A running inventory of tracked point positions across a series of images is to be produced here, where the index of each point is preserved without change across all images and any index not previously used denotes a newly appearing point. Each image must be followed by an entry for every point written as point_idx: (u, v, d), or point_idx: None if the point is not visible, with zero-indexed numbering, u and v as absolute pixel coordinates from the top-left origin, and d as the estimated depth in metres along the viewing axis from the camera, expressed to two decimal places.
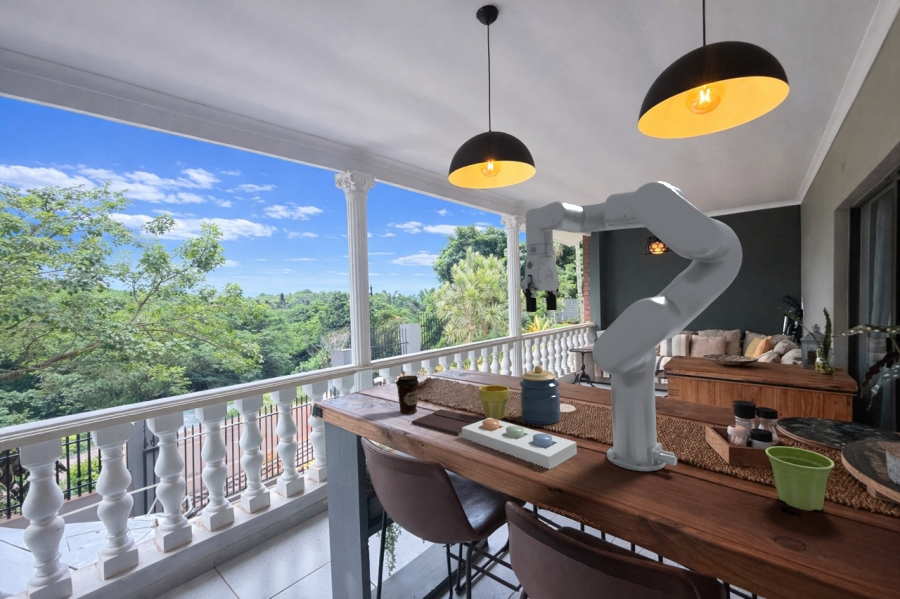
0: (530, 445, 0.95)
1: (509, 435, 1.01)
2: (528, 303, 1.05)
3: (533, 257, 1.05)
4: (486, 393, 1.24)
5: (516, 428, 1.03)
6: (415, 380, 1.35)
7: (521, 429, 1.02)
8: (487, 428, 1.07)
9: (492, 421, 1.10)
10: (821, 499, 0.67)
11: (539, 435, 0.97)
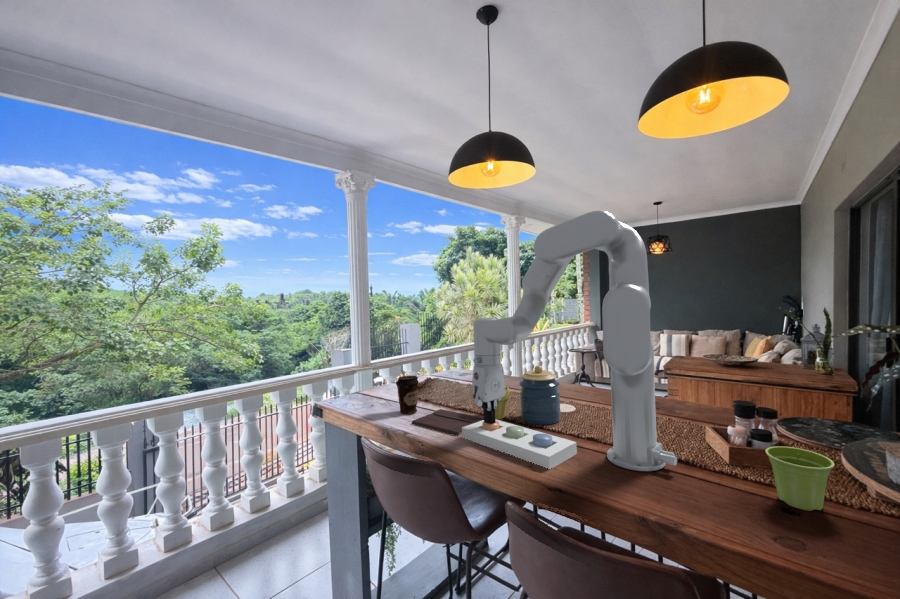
0: (530, 445, 0.95)
1: (509, 435, 1.01)
2: (485, 415, 1.09)
3: (479, 369, 1.06)
4: None
5: (516, 428, 1.03)
6: (415, 380, 1.35)
7: (521, 429, 1.02)
8: (487, 429, 1.07)
9: None
10: (821, 499, 0.67)
11: (539, 435, 0.97)
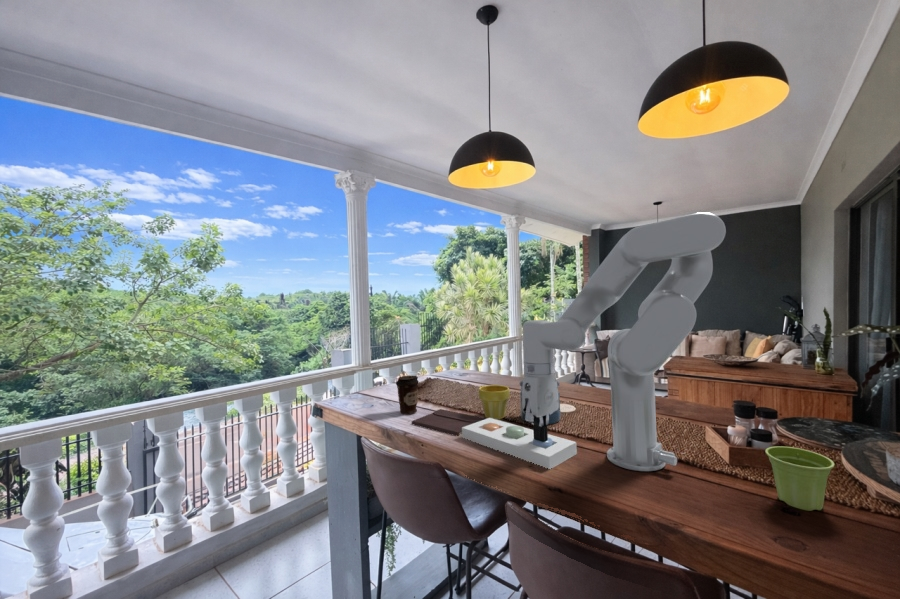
0: (530, 445, 0.95)
1: (509, 435, 1.01)
2: (536, 431, 0.95)
3: (531, 379, 0.92)
4: (486, 393, 1.24)
5: (516, 428, 1.03)
6: (415, 380, 1.35)
7: (521, 429, 1.02)
8: None
9: (492, 425, 1.10)
10: (821, 499, 0.67)
11: None
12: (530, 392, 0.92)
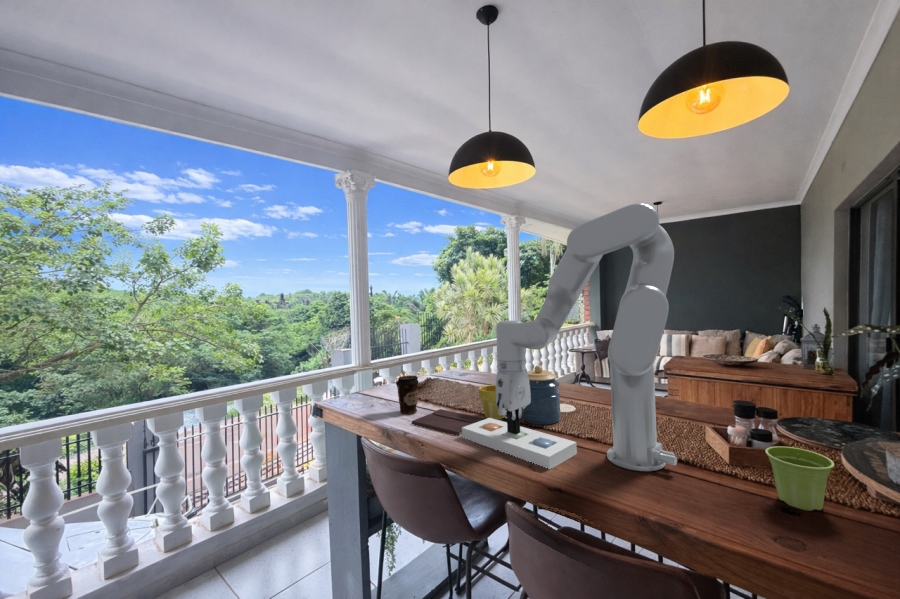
0: (530, 445, 0.95)
1: None
2: (509, 424, 1.02)
3: (503, 375, 0.99)
4: (486, 393, 1.24)
5: None
6: (415, 380, 1.35)
7: (521, 433, 1.02)
8: None
9: (492, 425, 1.10)
10: (821, 499, 0.67)
11: (539, 440, 0.97)
12: (502, 388, 0.99)
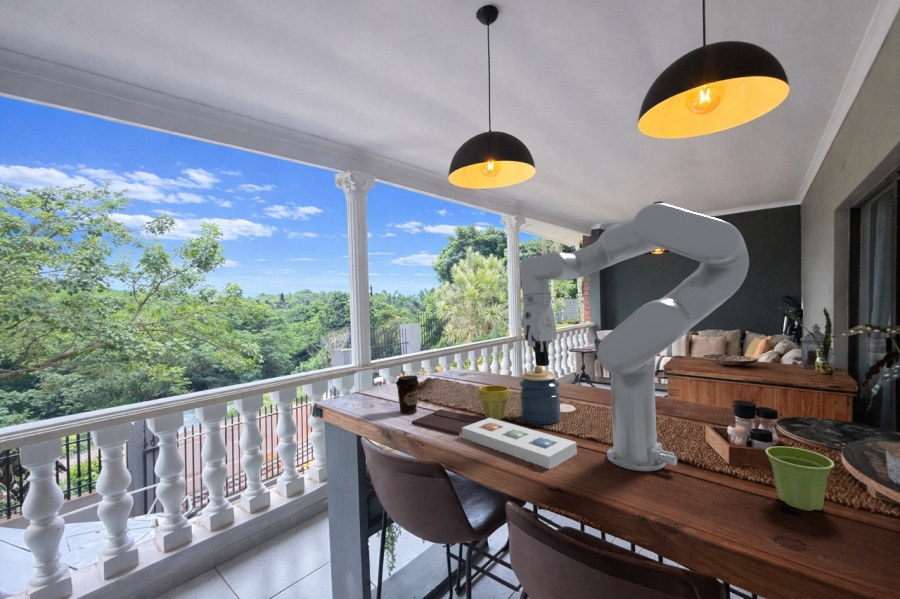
0: (530, 445, 0.95)
1: None
2: (538, 357, 1.05)
3: (531, 307, 1.02)
4: (486, 393, 1.24)
5: (516, 432, 1.03)
6: (415, 380, 1.35)
7: (521, 433, 1.02)
8: None
9: (492, 425, 1.10)
10: (821, 499, 0.67)
11: (539, 440, 0.97)
12: (531, 319, 1.02)
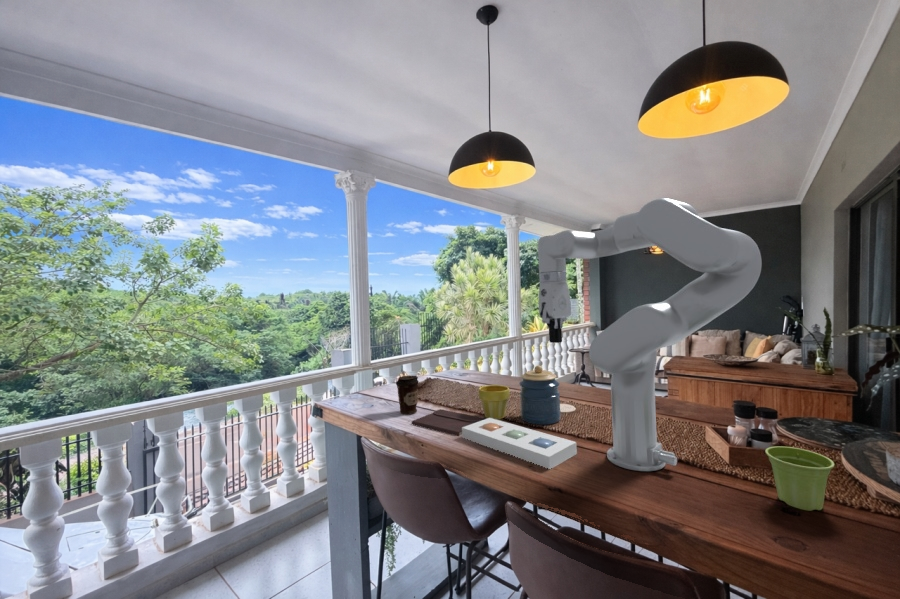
0: (530, 445, 0.95)
1: None
2: (551, 334, 1.07)
3: (547, 285, 1.04)
4: (486, 393, 1.24)
5: (516, 432, 1.03)
6: (415, 380, 1.35)
7: (521, 433, 1.02)
8: None
9: (492, 425, 1.10)
10: (821, 499, 0.67)
11: (539, 440, 0.97)
12: (546, 296, 1.04)
